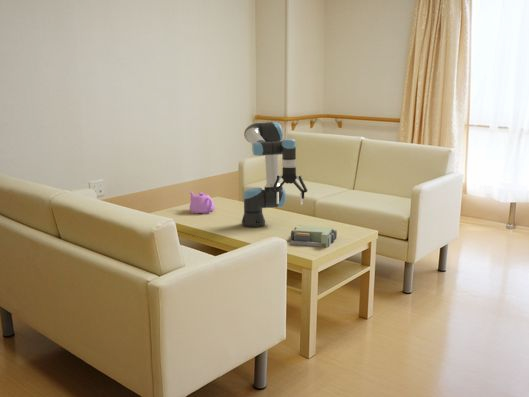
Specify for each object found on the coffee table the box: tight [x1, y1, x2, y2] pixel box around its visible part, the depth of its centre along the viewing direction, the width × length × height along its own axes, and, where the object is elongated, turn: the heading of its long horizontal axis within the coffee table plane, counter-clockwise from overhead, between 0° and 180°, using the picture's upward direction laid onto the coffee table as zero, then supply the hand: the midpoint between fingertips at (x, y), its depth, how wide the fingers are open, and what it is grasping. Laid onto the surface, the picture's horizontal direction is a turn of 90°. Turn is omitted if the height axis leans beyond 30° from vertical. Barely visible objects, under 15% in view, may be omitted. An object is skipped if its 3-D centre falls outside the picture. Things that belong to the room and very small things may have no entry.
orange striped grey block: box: [295, 233, 311, 242], centre depth 314 cm, size 8×5×5 cm, turn 72°
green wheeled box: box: [290, 225, 338, 248], centre depth 318 cm, size 24×20×7 cm
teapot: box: [189, 190, 216, 214], centre depth 396 cm, size 25×18×14 cm
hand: (289, 204), depth 316 cm, fingers open, 13 cm apart
